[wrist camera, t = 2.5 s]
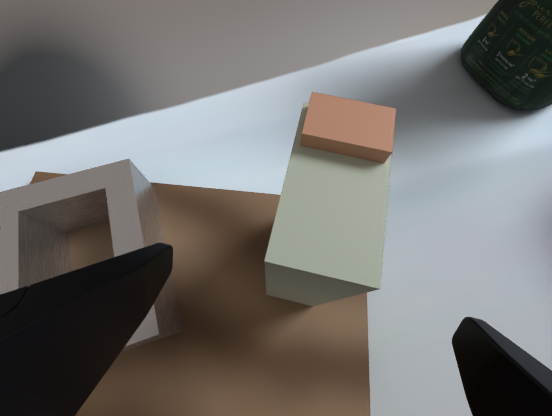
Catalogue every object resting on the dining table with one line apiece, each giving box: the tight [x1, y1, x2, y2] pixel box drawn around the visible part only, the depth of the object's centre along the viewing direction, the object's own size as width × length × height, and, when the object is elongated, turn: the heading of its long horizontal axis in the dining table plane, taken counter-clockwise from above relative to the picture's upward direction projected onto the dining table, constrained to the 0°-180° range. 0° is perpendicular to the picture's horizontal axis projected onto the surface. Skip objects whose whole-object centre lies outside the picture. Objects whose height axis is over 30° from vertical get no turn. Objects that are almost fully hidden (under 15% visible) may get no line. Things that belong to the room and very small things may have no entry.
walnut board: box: [30, 172, 370, 416], centre depth 17 cm, size 19×24×1 cm
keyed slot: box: [0, 159, 184, 353], centre depth 16 cm, size 10×8×4 cm
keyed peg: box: [264, 92, 396, 306], centre depth 13 cm, size 5×3×12 cm, turn 167°
